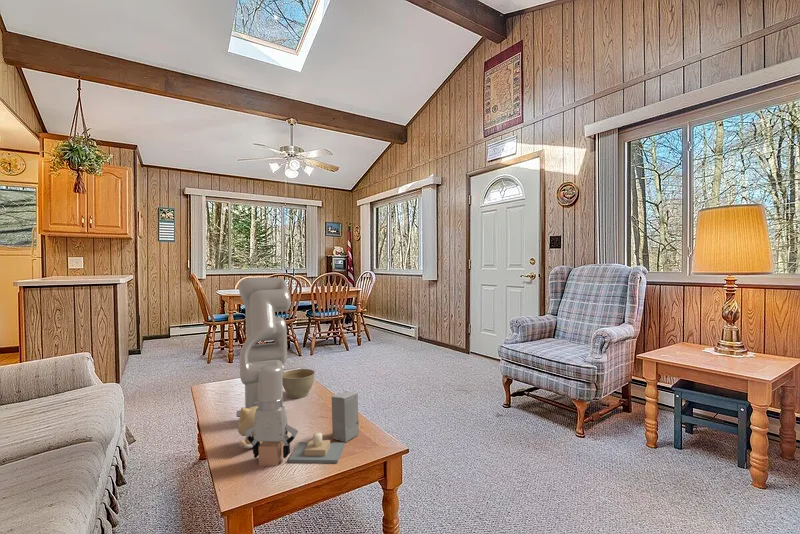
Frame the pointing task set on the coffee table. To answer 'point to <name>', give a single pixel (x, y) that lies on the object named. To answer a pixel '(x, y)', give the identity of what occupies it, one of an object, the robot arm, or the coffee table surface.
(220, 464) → the coffee table surface
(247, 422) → the kitten
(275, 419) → the robot arm
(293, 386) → the planter bowl
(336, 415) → the skincare box
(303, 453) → the post board
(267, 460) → the peach cardboard cube
